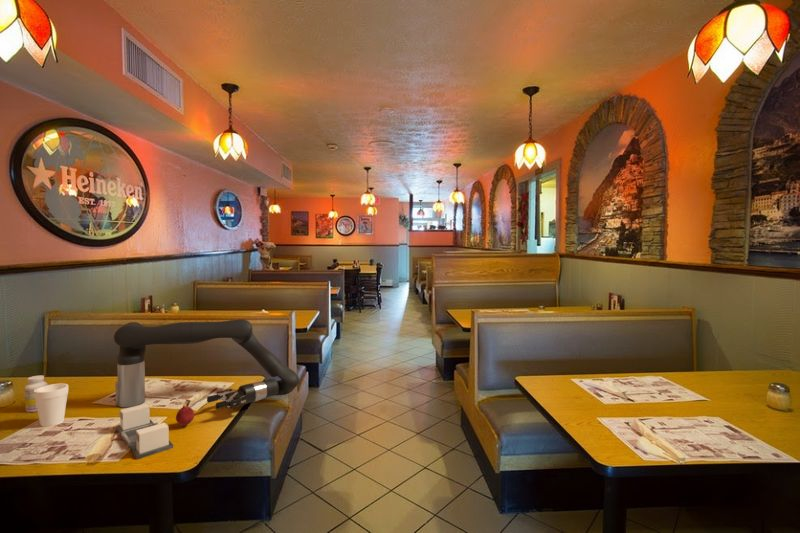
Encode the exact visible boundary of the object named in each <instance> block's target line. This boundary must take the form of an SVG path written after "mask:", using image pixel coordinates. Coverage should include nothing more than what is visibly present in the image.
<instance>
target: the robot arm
mask: <svg viewBox="0 0 800 533" xmlns="http://www.w3.org/2000/svg"><path fill="white" fill-rule="evenodd" d="M216 339H231V340H233V342H235V343H236V344H238V346H240V347H241V348H243V349H244V350H245V351H246V352H248V354H250V355H251V356H252V357H253V359H255V361H256V362H258V364H259V365H260V366H261V368H263V369H264V371H265V372H266V373H267V375H269V376H270V377H271V378H270V379H266V380H261V381H255V382H251V383H247V384H243V385H240V386H239V387H238V389H237V390H233V388H228V389H227V388H226V389H224V390H223V389H222V390H220V391H216V394H213V395H208V396H207V397H206V402H207V403H213V402H216V401H217V402H216V403H215V409H216V410H219V409H223V408H231V409H234V408H236V407H237V408H238V407H240V406H243V405H244V406H245V405H247V404H251V403H255V402H258V401H260V400H263V399H267V398H271V397H274V396H276V397H277V396H286V395H289V394H291V393H292V392H293V391H294V390H295V389H296V387H298V385H299V383H300V377H299V375H298V374H297V373H296V372H295V371H294V370H293V369H291V368H289V367H288V366H287V365H284V364H283V363H282V361H280V359H279V358H278V357H277V356H276V355H275V354H274V353H273V352H271V351H270V350H269V349H267V347H265V346H264V345H262V343H261V342H259V340H258V339H257V338H256V336H255V335H254V333H253V325H252V323H251V321H248V320H247V319H242V318H240V319H232V320H223V321H182V322H181V321H180V322H174V323H169V324H163V325H157V326H144V325H143V324H141V323H139V322H136V321H131V322H127V323H125V324H124V325H122V326H120V327H119V328H117V330H116V331H115V333H114V335H113V340H114V342H115V344H116V345H118V346H119V350H118V355H117V358H116V361H117V365H116V366H117V367H116V368H117V369H116V371H117V381H116V382H115V406H117V407H120V408H130V407H134V406H138V405H143V404H144V403H145V401H146V385H145V384H146V381H145V380H146V377H145V376H146V372H145V371H146V370H145V366H146V364H145V356H146V352H147V346H149V345H151V346H152V345H192V344H199V343H204V342H207V341H211V340H216ZM275 377H277V378H278V379H279V380H276V379H274V378H275ZM218 401H219V402H218Z"/></svg>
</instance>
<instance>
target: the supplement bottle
mask: <svg viewBox="0 0 800 533" xmlns="http://www.w3.org/2000/svg"><path fill="white" fill-rule="evenodd" d="M44 380H45V375H43V374H42V375H33V376H29V377H28V378H27V382H28V384H26V385H25V386H24V404H25V405H24V406H25V411H26V412H27V413H35V412H38V411H37V406H36V401H35V398H34V390H35V389H37V388H39V387H42V386H46V385H49V384H48V382H47V381H44Z"/></svg>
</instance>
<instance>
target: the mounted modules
mask: <svg viewBox="0 0 800 533" xmlns="http://www.w3.org/2000/svg"><path fill="white" fill-rule="evenodd" d="M150 412H151V411H150V405H149V404H147V403H142V404H139V405H136V406H132V407H125V408H122V409H120V410H119V420H120V423H119V424H120V425H119V426H121V428H122V429H123V430H126V429H129V428H133V427H137V426H140V425H144V424H148V423H150V420H151V418H150V417H151V415H150ZM169 432H170V431H169V424H167V423H166V422H162V423H158V425H154V426H150V427H147V428H143V429H140V430H136V433H135V438H136V449H137V451H138V452H139V453H140V454H141V453H144V452H147V451H150V450H153V449H157V448H160V447H163V446H166V445H169V441H170V438H169V437H170V435H169V434H170V433H169Z"/></svg>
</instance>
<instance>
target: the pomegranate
mask: <svg viewBox="0 0 800 533" xmlns="http://www.w3.org/2000/svg"><path fill="white" fill-rule="evenodd" d="M182 405H183V406H182V407H180V409H179V410H178V411H177V412H176V416H175V420H176V422H177V423H178V425H180V426H183V427H186V426H188V425H189V424H191V423H192V421H193V420H194V419H195V413H194V412H195V411H194V410H193V409H192V407H190V406H188V405H187V404H185V403H184V404H182Z"/></svg>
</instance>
